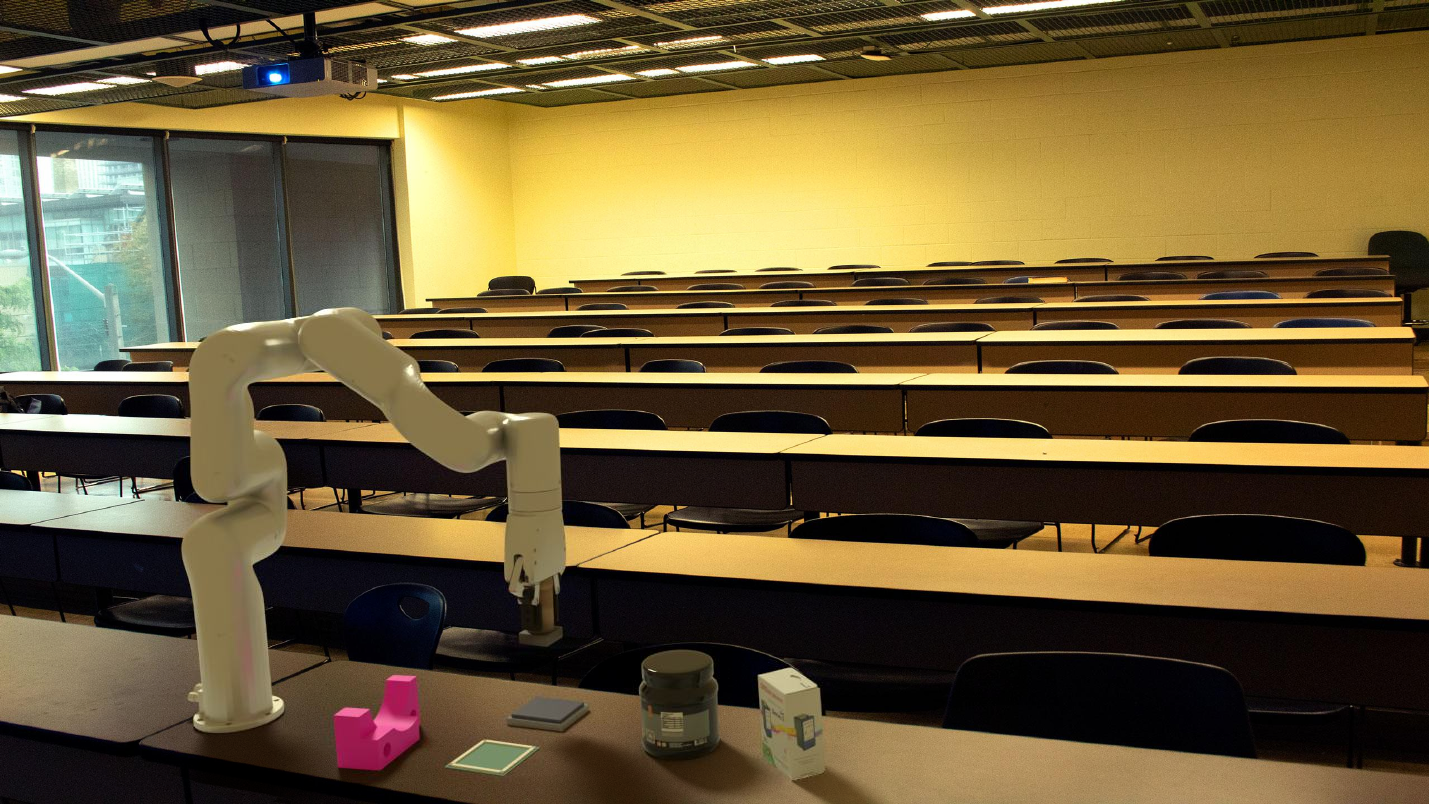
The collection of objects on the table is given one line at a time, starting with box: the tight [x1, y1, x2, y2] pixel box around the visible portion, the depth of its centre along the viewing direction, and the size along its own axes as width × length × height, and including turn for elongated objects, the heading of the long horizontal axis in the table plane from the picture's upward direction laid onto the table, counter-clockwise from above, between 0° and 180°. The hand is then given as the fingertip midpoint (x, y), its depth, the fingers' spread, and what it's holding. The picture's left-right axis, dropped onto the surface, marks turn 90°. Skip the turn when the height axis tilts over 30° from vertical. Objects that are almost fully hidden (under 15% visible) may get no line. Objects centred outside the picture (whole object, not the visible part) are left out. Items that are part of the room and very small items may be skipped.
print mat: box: [444, 739, 541, 777], centre depth 150 cm, size 9×9×1 cm
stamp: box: [518, 576, 564, 647], centre depth 162 cm, size 4×4×10 cm
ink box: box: [757, 667, 826, 780], centre depth 143 cm, size 9×5×12 cm, turn 23°
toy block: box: [333, 674, 421, 771], centre depth 156 cm, size 15×6×8 cm, turn 165°
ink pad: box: [506, 695, 590, 732], centre depth 164 cm, size 9×8×2 cm
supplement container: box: [638, 649, 720, 761], centre depth 151 cm, size 10×10×12 cm
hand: (540, 624), depth 162 cm, fingers closed on stamp, 3 cm apart
